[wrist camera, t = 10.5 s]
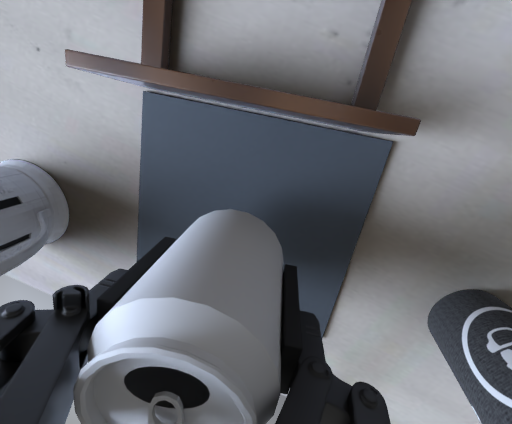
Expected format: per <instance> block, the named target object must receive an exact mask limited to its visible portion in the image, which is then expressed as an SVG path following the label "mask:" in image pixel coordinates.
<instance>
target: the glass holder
mask: <svg viewBox="0 0 512 424" xmlns="http://www.w3.org/2000/svg"><path fill="white" fill-rule="evenodd" d="M68 222H69V209H68V204H67V201H66V198H65V196H64V194H63V192H62V190H61V189H60V187H59V186H58V184H57V183H56V182H55V181H54V179H53V178H52V177H51V176H50V175H49V174H47V173H46V172H45V171H44V170H42V169H41V168H39V167H38V166H36V165H34V164H32V163H29V162H26V161H23V160H16V159H14V160H6V161H2V162H0V276H1V275H3V274H5V273H6V272H8V271H10V270H12V269H13V268H15V267H17V266H19V265H20V264H22V263H23V262H25V261H26V260H27V259H29V258H30V257H32V256H33V255H35V254H36V253H37V252H38V251H39V250H40V249H41V248H42V247H43V246H44V244H47V243H51V242H53V241H56V240H57V239H59V238H60V237H61V236H62V235H63V234H64V232H65V231H66V229H67V226H68Z"/></svg>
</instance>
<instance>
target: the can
mask: <svg viewBox="0 0 512 424" xmlns="http://www.w3.org/2000/svg"><path fill="white" fill-rule="evenodd" d="M283 264H284V262H283V253H282V247H281V245H280V243H279V241H278V239H277V237H276V234H275V233H274V232H273V231H272V230H271V229H270V228H269V227H268V226H267V225H266V223H265V222H264V221H262V220H260V219H258V218H257V217H255V216H253V215H251V214H249V213H247V212H242V211H237V210H233V209H227V210H216V211H213V212H210V213H208V214H206V215H203V216H201V217H199V218H198V219H197V220H196V221H195V222H194V223H193V224H192V225H191V226H190V227H189V228H188V229H187V230H186V231H185V232H184V233H183V234H182V235H181V236H180V237H179V238H178V239H177V240H176V241H175V242H174V244H173V245H172V246H171V247H170V248H169V249H168V250H167V251H166V252H165V253H164V254H163V255H162V256H161V257H160V258H159V259H158V260H157V261H156V262H155V263H154V265H153V266H152V267H151V268H150V269H149V270H148V271H147V272H146V273H145V274H144V275H143V276H142V277H141V278H140V279H139V280H138V281H137V282H136V283H135V284H134V286H133V287H132V288H131V289H130V290H129V291H128V292H127V293H126V294H125V295H124V296H123V297H122V298H121V299H120V300H119V301H118V302H117V303H116V304H115V305H114V307H113V308H112V309H111V310H110V311H109V312H108V313H107V314H106V315H105V316H104V317H103V318H102V319H101V320H100V321H99V322H98V323H97V324H96V326H95V328H94V331H93V333H92V336H91V338H90V341H89V343H88V346H87V350H88V364H86V365H85V366H84V367H83V368H82V369H81V370H80V373H79V375H78V378H77V380H76V383H75V385H74V388H73V393H74V405H75V412H76V414H77V416H78V418H79V420H80V422H81V424H266V423H267V422H268V421H269V420H270V418H271V417H272V416H273V415H274V413H275V409H276V406H277V403H278V400H279V396H280V390H281V338H282V298H283Z"/></svg>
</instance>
